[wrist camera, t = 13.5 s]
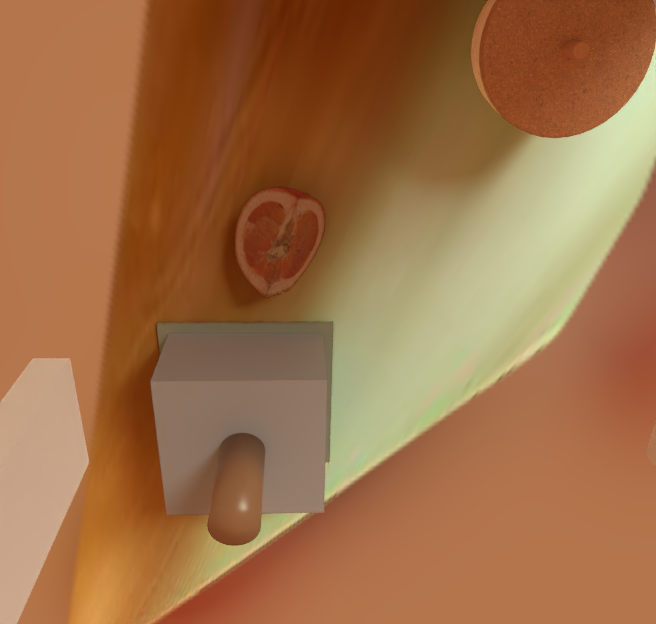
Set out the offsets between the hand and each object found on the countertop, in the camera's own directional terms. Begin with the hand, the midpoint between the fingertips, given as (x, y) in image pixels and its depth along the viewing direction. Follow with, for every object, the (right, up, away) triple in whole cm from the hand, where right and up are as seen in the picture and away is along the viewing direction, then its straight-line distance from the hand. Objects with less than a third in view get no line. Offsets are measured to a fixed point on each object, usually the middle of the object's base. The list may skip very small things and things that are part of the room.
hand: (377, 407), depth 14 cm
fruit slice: (-5, +9, +37) cm, 38 cm away
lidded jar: (+13, +22, +31) cm, 40 cm away
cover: (-8, -6, +43) cm, 44 cm away
